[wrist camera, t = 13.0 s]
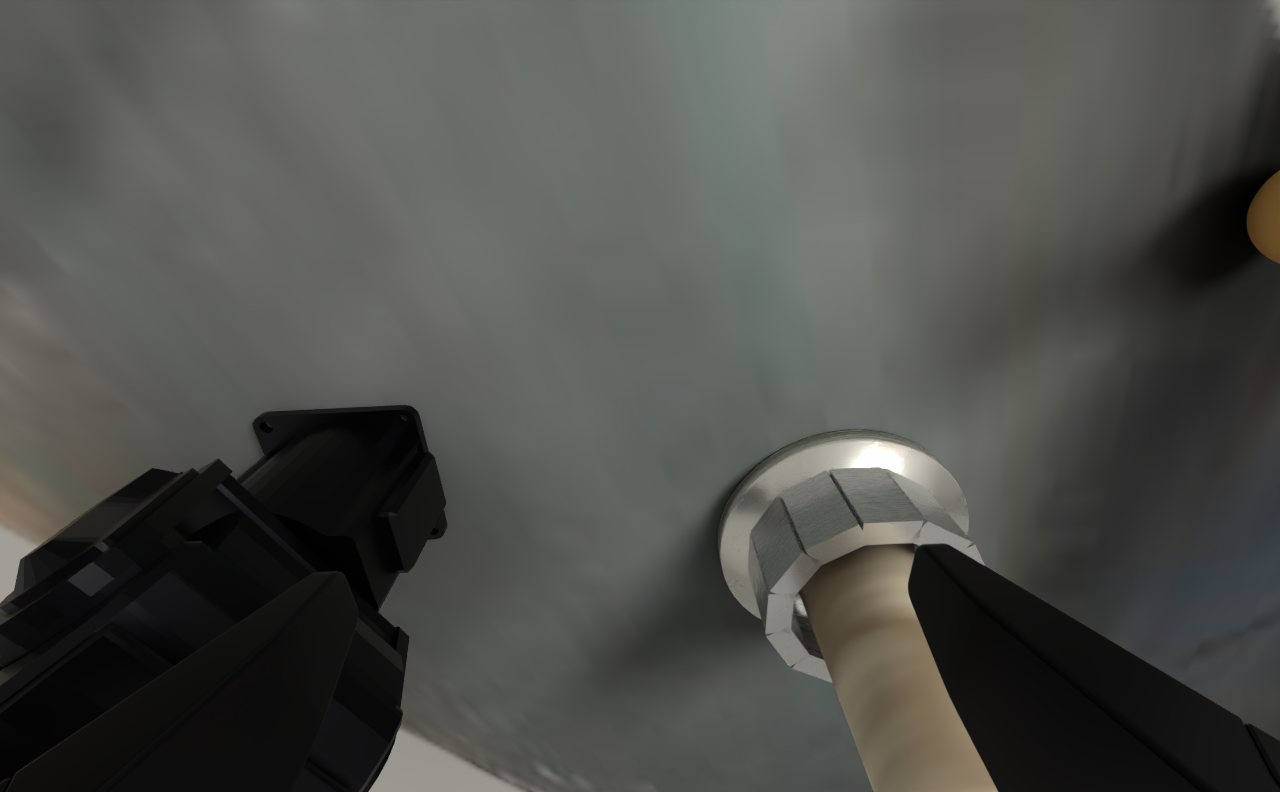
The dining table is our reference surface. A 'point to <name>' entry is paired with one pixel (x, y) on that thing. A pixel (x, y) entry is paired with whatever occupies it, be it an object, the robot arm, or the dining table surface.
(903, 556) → the birch plug
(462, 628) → the dining table surface
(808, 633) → the silver flanged nut
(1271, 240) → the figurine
